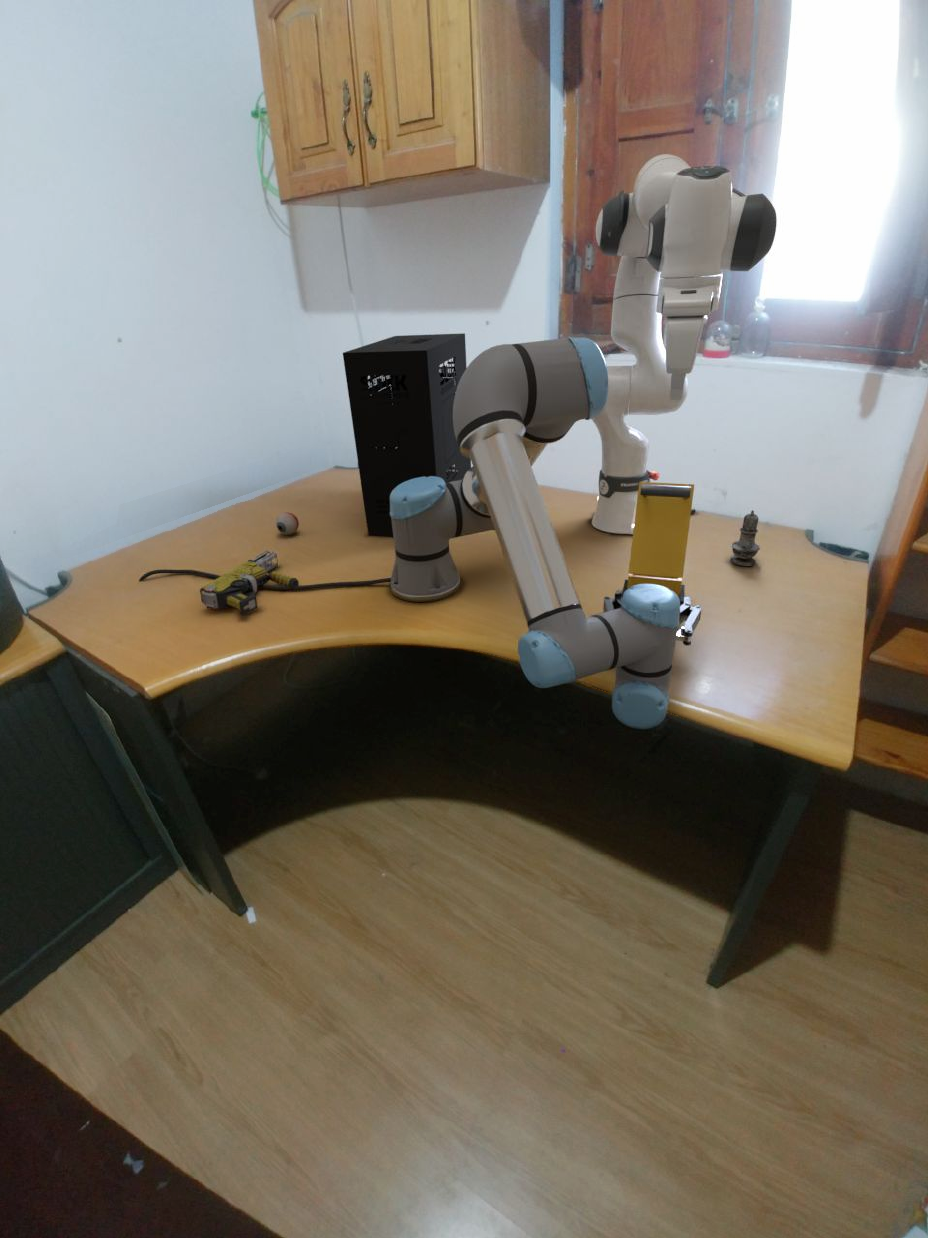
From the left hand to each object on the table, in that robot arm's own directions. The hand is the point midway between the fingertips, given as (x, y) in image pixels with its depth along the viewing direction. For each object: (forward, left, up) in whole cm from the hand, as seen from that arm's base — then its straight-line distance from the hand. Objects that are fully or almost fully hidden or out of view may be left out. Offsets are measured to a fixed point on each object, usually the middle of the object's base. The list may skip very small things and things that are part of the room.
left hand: (653, 588), depth 113 cm
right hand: (0, +2, +34) cm, 34 cm away
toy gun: (-83, -6, -7) cm, 84 cm away
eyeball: (-97, +25, -7) cm, 100 cm away
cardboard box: (-66, +48, -7) cm, 82 cm away
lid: (0, 0, +12) cm, 12 cm away
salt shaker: (+18, +31, -7) cm, 37 cm away
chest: (0, +4, -7) cm, 8 cm away
